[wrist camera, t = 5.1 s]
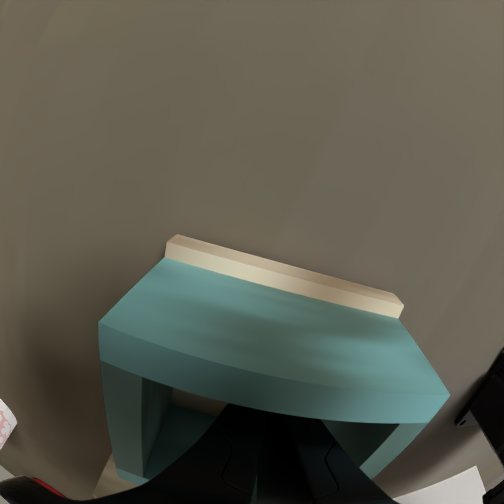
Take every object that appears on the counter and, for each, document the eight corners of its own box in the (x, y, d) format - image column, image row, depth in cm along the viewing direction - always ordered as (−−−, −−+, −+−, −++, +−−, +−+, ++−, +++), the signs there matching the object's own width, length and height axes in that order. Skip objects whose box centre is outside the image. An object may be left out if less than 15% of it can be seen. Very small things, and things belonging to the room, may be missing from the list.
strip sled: (431, 303, 10) (500, 380, 5) (259, 522, 17) (256, 564, 12) (125, 219, 9) (26, 268, 5) (131, 493, 17) (116, 533, 12)
